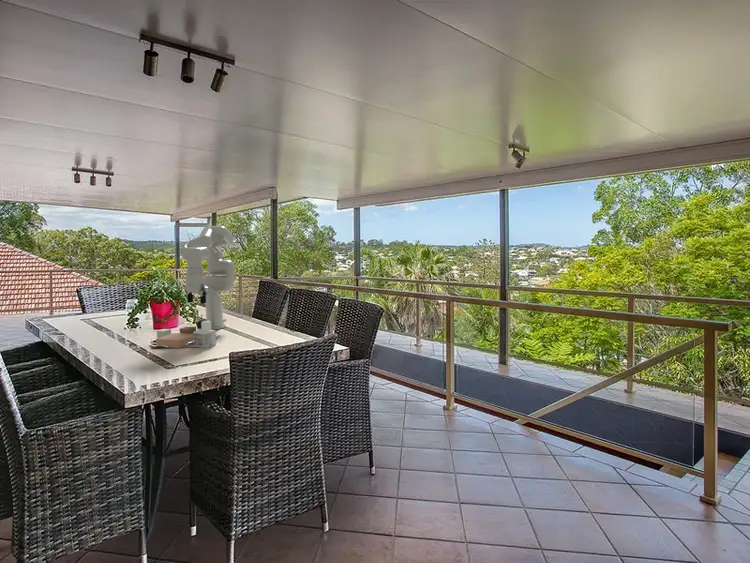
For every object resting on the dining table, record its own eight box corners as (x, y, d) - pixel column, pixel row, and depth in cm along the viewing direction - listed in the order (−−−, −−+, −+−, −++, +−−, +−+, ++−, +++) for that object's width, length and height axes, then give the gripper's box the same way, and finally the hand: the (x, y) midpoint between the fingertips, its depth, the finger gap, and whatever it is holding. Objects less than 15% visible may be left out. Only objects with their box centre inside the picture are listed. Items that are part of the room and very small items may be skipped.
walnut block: (187, 337, 244) (186, 326, 244) (196, 337, 243) (196, 326, 242) (180, 339, 238) (179, 328, 238) (189, 340, 237) (189, 329, 236)
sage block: (163, 337, 244) (163, 328, 243) (171, 338, 243) (170, 329, 242) (157, 339, 239) (156, 330, 238) (165, 340, 238) (164, 331, 237)
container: (193, 346, 222) (192, 321, 221) (205, 343, 229) (204, 318, 228) (204, 348, 219) (202, 322, 217) (216, 344, 226) (215, 320, 224)
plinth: (174, 340, 237) (174, 332, 237) (197, 341, 234) (196, 333, 233) (156, 346, 223) (155, 338, 223) (179, 347, 220) (179, 340, 220)
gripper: (177, 271, 233) (179, 302, 235) (200, 272, 226) (202, 304, 228) (189, 270, 240) (191, 300, 242) (212, 270, 232) (214, 302, 234)
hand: (196, 302), depth 235 cm, fingers open, 9 cm apart
